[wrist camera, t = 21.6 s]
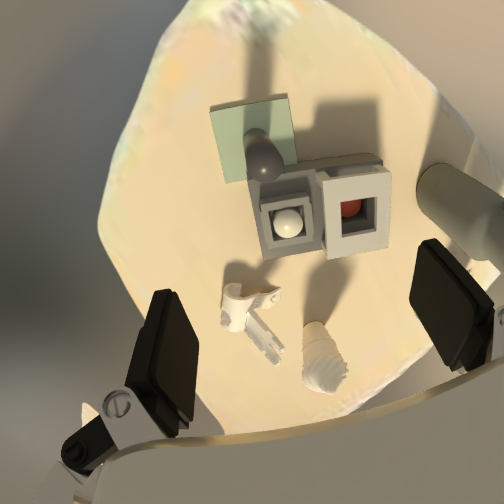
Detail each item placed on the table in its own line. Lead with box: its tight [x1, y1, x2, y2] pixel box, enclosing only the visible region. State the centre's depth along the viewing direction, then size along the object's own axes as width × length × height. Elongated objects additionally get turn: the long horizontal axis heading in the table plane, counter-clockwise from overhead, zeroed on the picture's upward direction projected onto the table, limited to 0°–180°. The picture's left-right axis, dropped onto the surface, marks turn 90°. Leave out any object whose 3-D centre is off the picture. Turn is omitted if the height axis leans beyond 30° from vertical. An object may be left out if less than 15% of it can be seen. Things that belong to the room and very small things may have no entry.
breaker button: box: [340, 199, 361, 217], centre depth 39 cm, size 4×4×3 cm
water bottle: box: [417, 163, 504, 275], centre depth 28 cm, size 10×10×28 cm
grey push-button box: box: [246, 153, 391, 260], centre depth 38 cm, size 18×12×7 cm, turn 100°
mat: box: [209, 98, 298, 184], centre depth 36 cm, size 10×10×1 cm
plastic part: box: [220, 283, 285, 368], centre depth 46 cm, size 8×10×12 cm
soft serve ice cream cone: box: [302, 321, 349, 395], centre depth 49 cm, size 8×8×16 cm
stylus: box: [243, 128, 284, 183], centre depth 30 cm, size 3×3×12 cm
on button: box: [273, 207, 303, 238], centre depth 37 cm, size 4×4×2 cm
